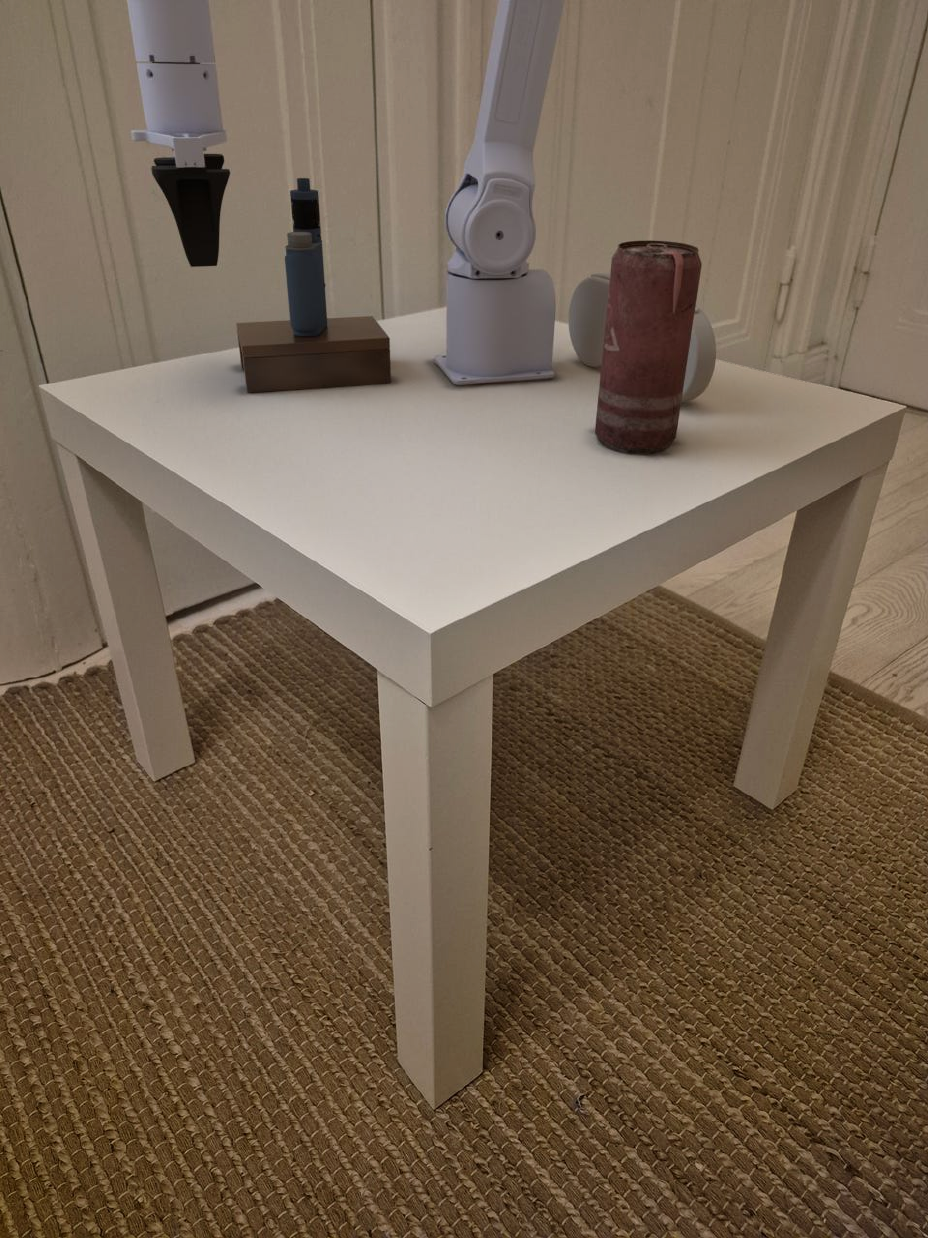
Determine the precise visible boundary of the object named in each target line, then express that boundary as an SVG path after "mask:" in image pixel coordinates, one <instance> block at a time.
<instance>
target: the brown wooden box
mask: <svg viewBox="0 0 928 1238" xmlns="http://www.w3.org/2000/svg"><path fill="white" fill-rule="evenodd" d="M235 325H236V326H235V327H236V333H237V342H238V352H239V359H240V367H241V370H242V371H244V380H245V389H246V393H247V394H251V393H267V392H281V391H293V390H294V391H295V390H307V389H322V388H335V387H350V386H352V387H353V386H363V385H364V386H366V385H379V384H380V385H381V384H391V383H392V374H391V373H392V371H391V339H390V336H389V335H388V334H387V332H386V331H385V330H384V329H383V327H382V326H381V324H379V322H378V321H377V320H376V319H375V317H374V316H373V315H368V316H347V317H346V316H345V317H329V318H328V317H327V326H326V327H325V328H324V329H323V330H322V332H321V333H320V334H319V335H317V336H313V337H300V336H296V335H294V334H293V329H292V327H291V324H290V319H289V320H287V319H286V320H270V321H249V322H236V324H235Z"/></svg>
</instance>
